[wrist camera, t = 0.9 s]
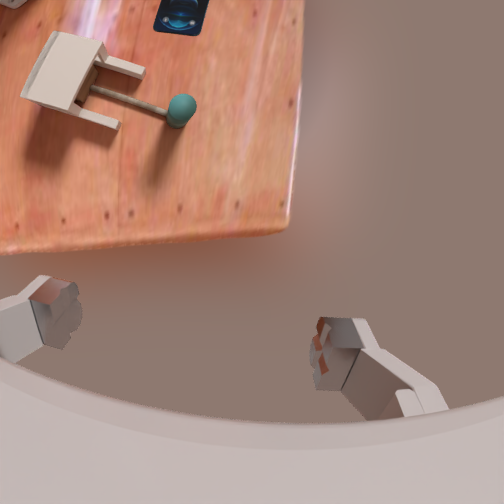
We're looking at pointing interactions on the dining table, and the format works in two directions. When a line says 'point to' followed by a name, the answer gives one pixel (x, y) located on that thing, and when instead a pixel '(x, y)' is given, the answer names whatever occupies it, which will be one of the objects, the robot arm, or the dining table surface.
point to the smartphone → (181, 16)
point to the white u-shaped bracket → (72, 74)
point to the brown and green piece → (177, 112)
